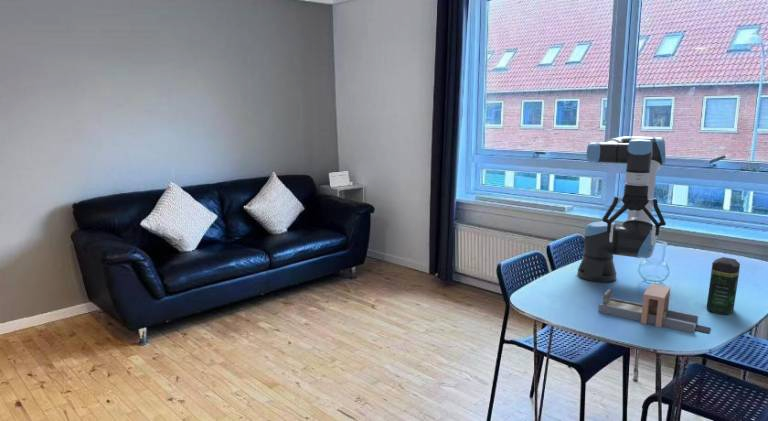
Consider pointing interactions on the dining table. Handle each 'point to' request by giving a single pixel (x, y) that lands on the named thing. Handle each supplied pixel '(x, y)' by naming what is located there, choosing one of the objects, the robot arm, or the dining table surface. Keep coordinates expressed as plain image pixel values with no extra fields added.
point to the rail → (653, 316)
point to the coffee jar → (723, 285)
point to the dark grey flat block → (702, 329)
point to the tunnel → (658, 294)
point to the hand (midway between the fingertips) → (631, 242)
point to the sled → (651, 310)
